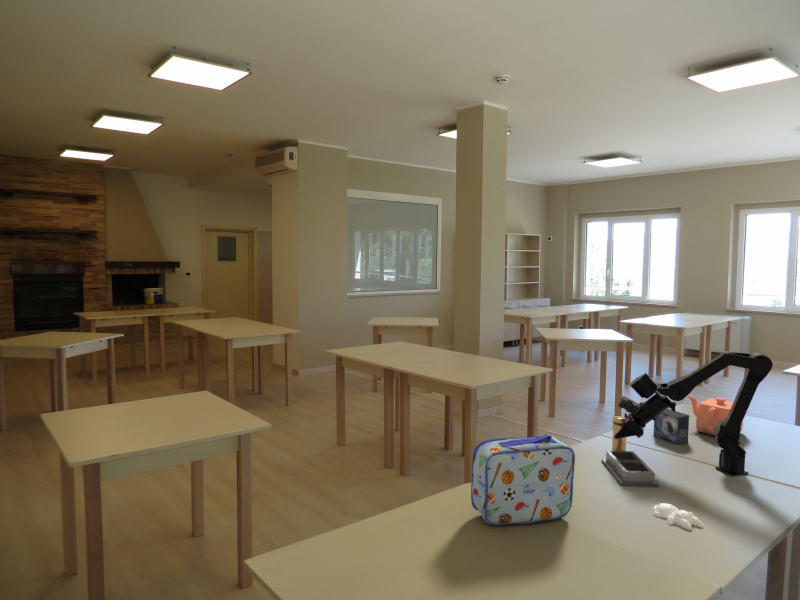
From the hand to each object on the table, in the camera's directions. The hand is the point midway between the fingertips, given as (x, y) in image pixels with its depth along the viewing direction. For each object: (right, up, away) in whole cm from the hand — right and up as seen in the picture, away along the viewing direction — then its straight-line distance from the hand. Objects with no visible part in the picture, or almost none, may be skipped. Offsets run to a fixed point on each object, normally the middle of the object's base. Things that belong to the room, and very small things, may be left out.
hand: (615, 435), depth 180 cm
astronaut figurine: (-2, -11, -44) cm, 46 cm away
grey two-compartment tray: (-2, -8, -16) cm, 18 cm away
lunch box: (-42, -10, -44) cm, 61 cm away
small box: (+27, -6, +16) cm, 32 cm away
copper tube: (+1, -7, 0) cm, 7 cm away
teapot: (+48, -5, +26) cm, 55 cm away
